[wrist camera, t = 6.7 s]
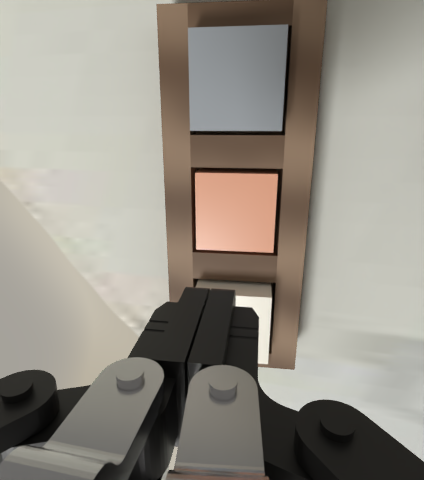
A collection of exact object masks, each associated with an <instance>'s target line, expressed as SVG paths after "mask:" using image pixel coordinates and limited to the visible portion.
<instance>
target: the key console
mask: <svg viewBox="0 0 424 480" xmlns="http://www.w3.org/2000/svg"><path fill="white" fill-rule="evenodd" d="M326 11H327V0H250V1H226V2H201V3H176V4H157V25H158V48H159V70H160V93H161V116H162V138H163V161H164V184H165V206H166V229H167V252H168V274H169V297H170V302H178V301H179V299H180V297H181V295H182V293H183V291H184V289H185V287H196V285H197V282H198V279H213V280H231V281H250V282H269V283H271V292H272V305H271V322H270V338H269V355H268V364H258V367H268V368H281V369H293V370H294V369H295V358H296V347H297V336H298V324H299V313H300V302H301V291H302V280H303V268H304V257H305V246H306V235H307V224H308V212H309V201H310V190H311V179H312V168H313V156H314V145H315V134H316V123H317V112H318V100H319V89H320V78H321V67H322V56H323V44H324V33H325V22H326ZM287 24H288V38H287V55H286V71H285V88H284V105H283V121H282V131H190V106H189V56H188V28H193V27H225V26H256V25H287ZM200 168H230V169H276V170H277V173H278V182H277V199H276V216H275V233H274V250H273V253H266V252H243V251H220V250H197V249H196V206H195V172H196V171H198V170H199V169H200Z"/></svg>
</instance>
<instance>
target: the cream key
mask: <svg viewBox="0 0 424 480" xmlns="http://www.w3.org/2000/svg"><path fill="white" fill-rule="evenodd" d="M196 288H210V290H211V288H214V289H230V290H236V306H239V307H252V308H253V309H254V311H255V312H256V314H257V315H258V316H259V339H258V340H259V341H258V364H268V355H269V338H270V322H271V305H272V292H271V283H269V282H250V281H231V280H213V279H198V282H197V285H196Z"/></svg>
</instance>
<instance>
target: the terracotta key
mask: <svg viewBox="0 0 424 480" xmlns="http://www.w3.org/2000/svg"><path fill="white" fill-rule="evenodd" d="M277 182H278V173H277V170H276V169H230V168H200V169H199V170H198V171H196V172H195V206H196V249H197V250H220V251H243V252H266V253H273V250H274V233H275V216H276V199H277Z"/></svg>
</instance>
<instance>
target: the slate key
mask: <svg viewBox="0 0 424 480" xmlns="http://www.w3.org/2000/svg"><path fill="white" fill-rule="evenodd" d="M287 38H288V24H287V25H256V26H225V27H193V28H188V56H189V106H190V131H282V121H283V105H284V88H285V71H286V55H287Z"/></svg>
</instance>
